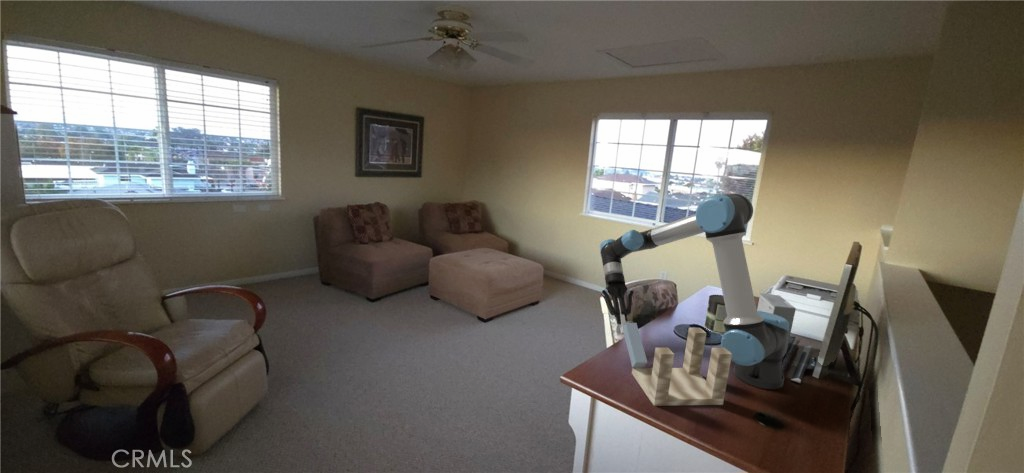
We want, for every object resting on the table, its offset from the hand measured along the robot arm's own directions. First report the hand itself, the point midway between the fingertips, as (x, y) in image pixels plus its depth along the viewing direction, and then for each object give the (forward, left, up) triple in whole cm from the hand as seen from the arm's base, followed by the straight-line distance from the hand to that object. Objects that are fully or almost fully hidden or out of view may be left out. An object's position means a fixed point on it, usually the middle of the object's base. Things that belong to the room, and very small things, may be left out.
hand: (624, 332), depth 157 cm
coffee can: (-50, -20, -8) cm, 55 cm away
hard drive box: (-62, -4, -8) cm, 63 cm away
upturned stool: (-9, +24, -8) cm, 27 cm away
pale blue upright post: (0, +16, -4) cm, 16 cm away
